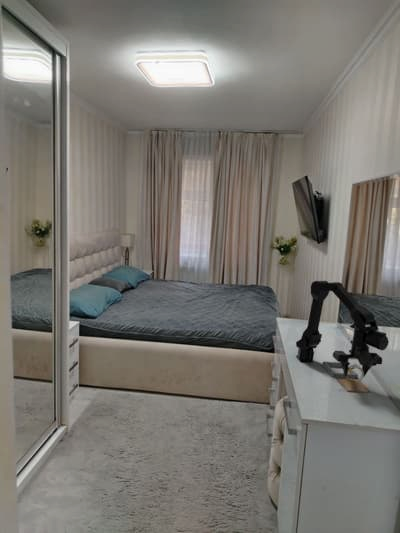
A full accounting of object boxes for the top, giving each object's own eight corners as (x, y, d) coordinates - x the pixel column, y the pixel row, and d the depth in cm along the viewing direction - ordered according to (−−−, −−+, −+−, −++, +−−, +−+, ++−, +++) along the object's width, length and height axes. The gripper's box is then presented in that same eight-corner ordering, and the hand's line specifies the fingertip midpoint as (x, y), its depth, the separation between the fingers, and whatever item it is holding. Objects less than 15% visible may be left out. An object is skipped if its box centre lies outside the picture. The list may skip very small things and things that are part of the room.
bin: (333, 377, 160) (334, 373, 159) (322, 365, 172) (323, 361, 172) (357, 379, 160) (358, 374, 160) (344, 366, 173) (344, 362, 173)
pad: (346, 391, 148) (347, 390, 148) (336, 379, 158) (336, 378, 158) (370, 392, 149) (370, 391, 149) (358, 380, 159) (358, 379, 159)
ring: (344, 382, 153) (347, 364, 151) (344, 378, 156) (346, 361, 154) (362, 385, 151) (365, 367, 150) (361, 382, 154) (364, 364, 153)
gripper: (347, 347, 142) (341, 385, 144) (393, 350, 143) (386, 387, 146) (334, 337, 153) (329, 372, 155) (377, 339, 154) (371, 374, 157)
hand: (354, 376), depth 153 cm, fingers closed on ring, 7 cm apart
